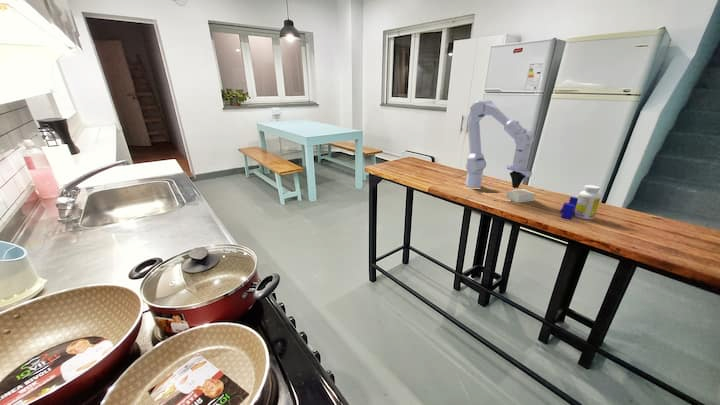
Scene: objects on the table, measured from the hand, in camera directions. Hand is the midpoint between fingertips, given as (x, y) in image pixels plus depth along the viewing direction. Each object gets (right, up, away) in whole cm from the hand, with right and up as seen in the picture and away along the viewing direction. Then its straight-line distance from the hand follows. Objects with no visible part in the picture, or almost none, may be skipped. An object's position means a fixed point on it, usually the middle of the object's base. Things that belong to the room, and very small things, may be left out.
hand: (515, 187), depth 132 cm
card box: (+1, -3, +2) cm, 3 cm away
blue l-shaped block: (+12, -12, -16) cm, 24 cm away
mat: (-4, -5, +3) cm, 7 cm away
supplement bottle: (+17, -13, -19) cm, 29 cm away
